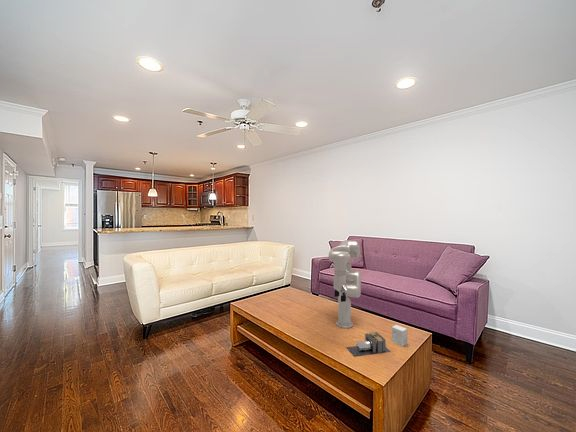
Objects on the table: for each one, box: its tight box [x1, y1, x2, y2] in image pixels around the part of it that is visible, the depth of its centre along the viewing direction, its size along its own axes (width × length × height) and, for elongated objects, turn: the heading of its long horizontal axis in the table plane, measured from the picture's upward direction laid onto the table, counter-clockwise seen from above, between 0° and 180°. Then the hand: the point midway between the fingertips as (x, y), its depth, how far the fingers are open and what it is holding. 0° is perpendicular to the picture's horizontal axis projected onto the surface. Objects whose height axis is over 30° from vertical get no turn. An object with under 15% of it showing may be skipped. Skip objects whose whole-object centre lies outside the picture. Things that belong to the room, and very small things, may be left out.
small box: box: [391, 324, 408, 347], centre depth 169 cm, size 8×6×10 cm
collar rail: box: [345, 331, 392, 358], centre depth 161 cm, size 11×25×9 cm, turn 103°
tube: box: [355, 340, 387, 351], centre depth 162 cm, size 18×5×5 cm, turn 103°
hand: (340, 298), depth 167 cm, fingers open, 9 cm apart
